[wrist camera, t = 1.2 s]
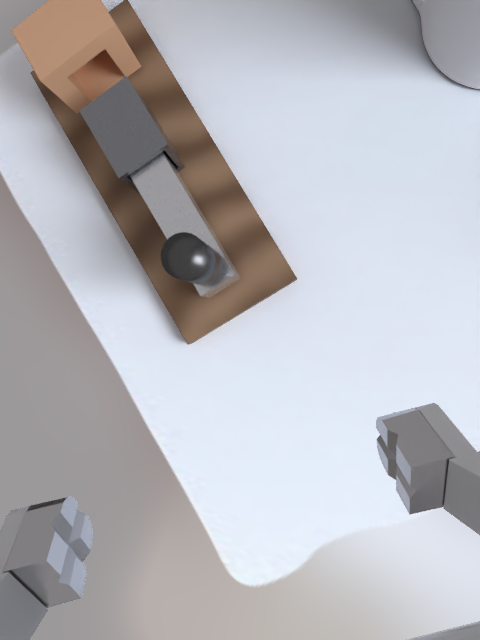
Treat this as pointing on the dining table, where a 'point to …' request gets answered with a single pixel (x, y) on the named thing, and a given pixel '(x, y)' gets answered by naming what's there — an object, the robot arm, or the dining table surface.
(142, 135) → the metal sleeve
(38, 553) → the robot arm
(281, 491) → the dining table surface
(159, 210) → the grey piece
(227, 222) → the walnut board
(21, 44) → the socket block
